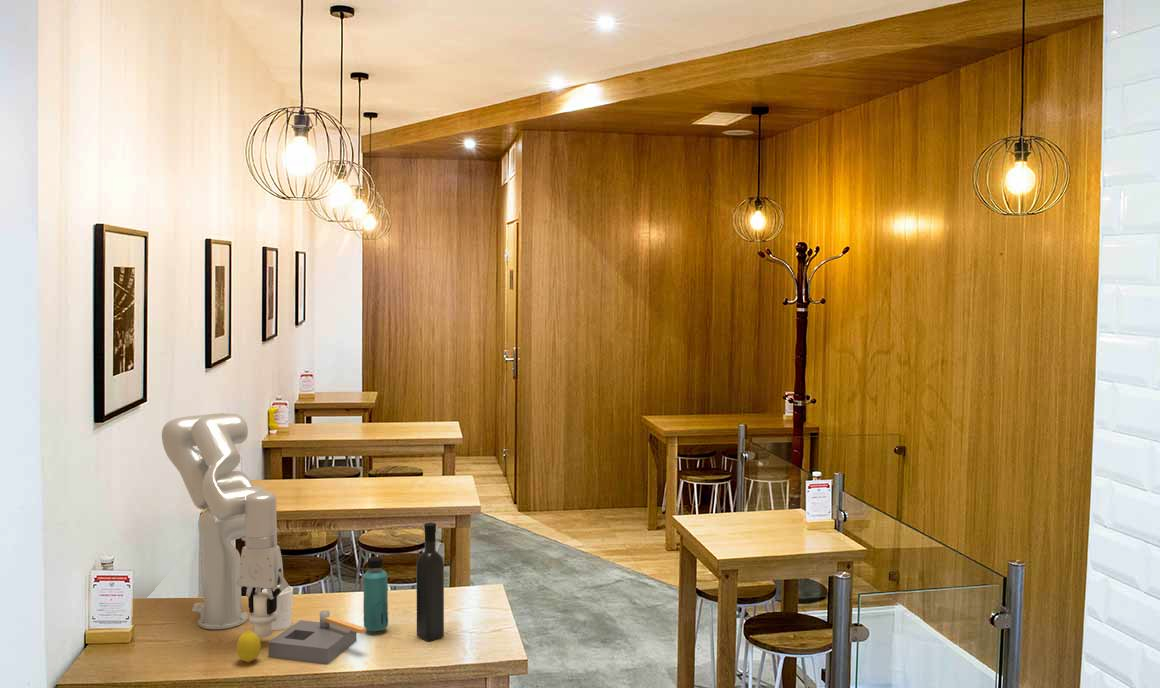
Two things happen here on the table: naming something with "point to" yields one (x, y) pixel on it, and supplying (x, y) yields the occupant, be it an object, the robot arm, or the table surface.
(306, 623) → the dock
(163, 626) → the table surface
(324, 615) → the hammer
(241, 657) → the lemon
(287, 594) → the white cup
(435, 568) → the wine bottle
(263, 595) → the plug
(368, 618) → the beverage bottle
